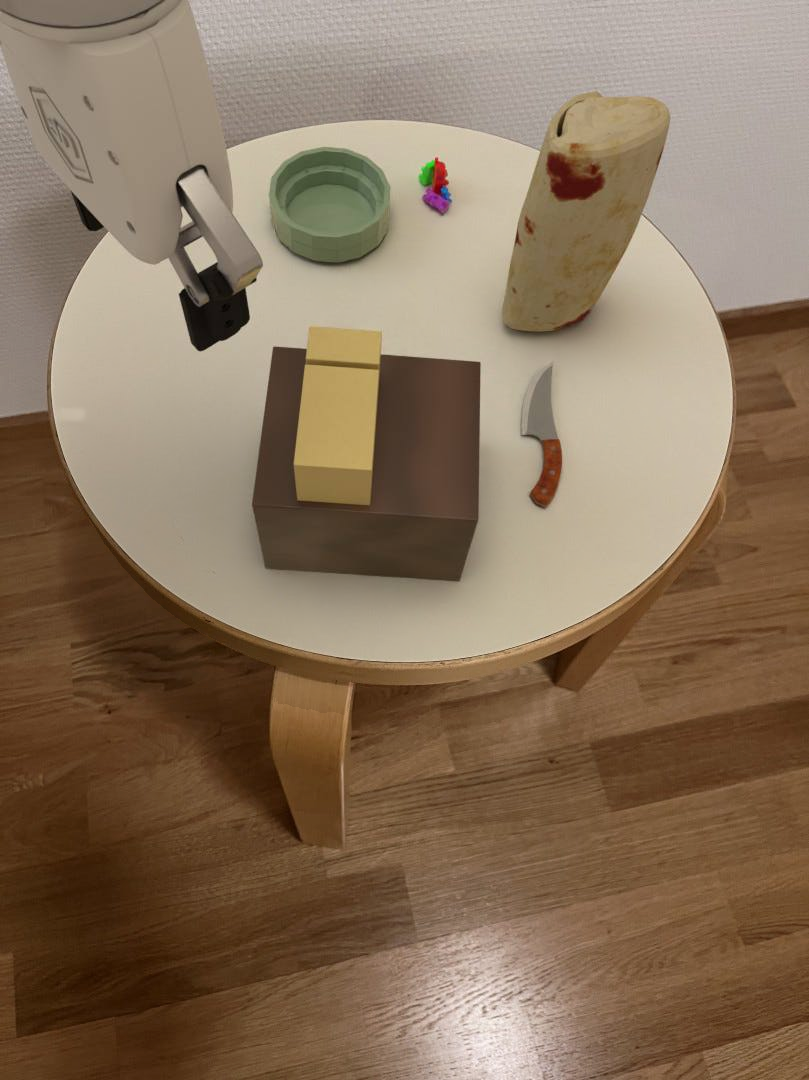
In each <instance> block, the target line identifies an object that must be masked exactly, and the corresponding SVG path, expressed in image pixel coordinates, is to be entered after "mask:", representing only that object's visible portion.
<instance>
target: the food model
mask: <svg viewBox="0 0 809 1080" xmlns="http://www.w3.org/2000/svg"><path fill="white" fill-rule="evenodd" d="M670 122H671V115H670V110H669V108H668V106H667V105H666V104H665V103H664V102H662V101H661V100H659V99H656V98H653V97H650V96H641V95H636V96H624V97H623V96H622V97H620V96H603V95H602V94H601V93H600V92H598V90H594V91H590V92H586V93H582V94H577V95H575V96H573V97H572V98H570V99H569V100H568V101H566V102H565V103H564V104H563V105H562V106H561V107H560V108H559V109H558V110H557V111H556V113H555V114H554V115H553V116H552V118H551V120H550V122H549V125H548V128H547V130H546V133H545V136H544V139H543V142H542V145H541V147H540V150H539V154H538V157H537V160H536V163H535V167H534V170H533V173H532V177H531V180H530V183H529V187H528V189H527V190H528V191H527V193H526V196H525V199H524V201H523V205H522V207H521V210H520V214H519V216H518V217H519V218H518V220H517V225H516V231H515V238H514V243H513V248H512V252H511V257H510V263H509V269H508V275H507V281H506V286H505V287H506V288H505V293H504V298H503V303H502V310H501V316H502V320H503V322H504V324H505V325H506V326H507V327H509V328H511V329H513V330H517V331H524V332H549V331H550V332H552V331H556V330H561V329H563V328H567V327H570V326H573V325H575V324H578V323H580V322H582V321H583V320H584V319H585V318H587V316H588V315H589V314H590V313H591V311H592V309H593V308H594V306H595V305H596V303H597V302H598V300H599V299H600V297H601V296H602V294H603V292H604V291H605V289H606V288H607V286H608V283H609V282H610V280H611V278H612V276H613V275H614V273H615V271H616V269H617V268H618V266H619V264H620V263H621V261H622V259H623V257H624V255H625V253H626V251H627V249H628V248H629V245H630V243H631V241H632V238H633V236H634V234H635V232H636V230H637V228H638V225H639V222H640V219H641V217H642V215H643V212H644V209H645V206H646V205H647V201H648V199H649V196H650V193H651V189H652V187H653V183H654V180H655V178H656V175H657V171H658V169H659V165H660V162H661V159H662V155H663V153H664V149H665V145H666V141H667V138H668V132H669V129H670V124H671V123H670Z"/></svg>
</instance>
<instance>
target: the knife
mask: <svg viewBox="0 0 809 1080" xmlns="http://www.w3.org/2000/svg"><path fill="white" fill-rule="evenodd" d="M553 367H554V361H553V360H552V361H550V362H548V363H547V364H545V365H544V366H543V367H542V368H541V369H540V370H538V372H536V374H535V375H534V376H533V378H532V380H531V381H530V383H529V385H528V387H527V389H526V392H525V396H524V399H523V403H522V404H523V405H522V411H521V435H522V436H533V437H536V438H538V439H539V441H540V444H541V446H542V452H543V453H542V454H543V465H542V471H541V475H540V477H539V479H538V481H537V482H536V484H535V485H534V487H533V488H532V489H531V490H530V492H529V493H530V494H529V496H530V499H531V500H532V501H533V502H534V503H535V504H537V506H539V507H542V508H547V506H549V505H550V503H551V502H552V501H553V498H554V496H555V494H556V491H557V489H558V486H559V483H560V479H561V475H562V469H563V452H562V445H561V441H560V438H559V436H558V432H557V428H556V425H555V419H554V414H553V407H552V374H553Z"/></svg>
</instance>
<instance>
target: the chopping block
mask: <svg viewBox="0 0 809 1080" xmlns="http://www.w3.org/2000/svg"><path fill="white" fill-rule="evenodd" d="M306 352H307V348H302V347H301V348H300V347H290V346H289V347H288V346H275V345H274V346H273V347H272V353H271V359H270V365H269V374H268V381H267V389H266V395H265V396H266V397H265V404H264V411H263V418H262V426H261V434H260V442H259V450H258V455H257V464H256V471H255V477H254V478H255V479H254V486H253V494H252V500H251V507H252V511H253V516H254V521H255V526H256V531H257V537H258V540H259V546H260V550H261V551H260V552H261V556H262V560H263V563H264V564H263V565H264V568H265V569H270V570H285V571H299V572H300V571H301V572H314V573H315V572H316V573H330V574H331V573H332V574H345V575H362V576H374V577H376V576H377V577H389V578H390V577H391V578H406V579H420V580H421V579H422V580H436V581H437V580H438V581H451V582H461V578H462V576H463V573H464V569H465V565H466V563H467V559H468V556H469V553H470V549H471V546H472V543H473V539H474V536H475V533H476V529H477V526H478V522H479V514H480V513H479V511H480V510H479V509H480V508H479V507H480V503H479V502H480V442H481V441H480V440H481V439H480V437H481V373H482V372H481V371H482V370H481V364H482V363H481V361H474V360H461V359H459V360H458V359H450V358H449V359H448V358H437V357H436V358H435V357H423V356H411V355H409V356H408V355H395V354H382V353H381V358H380V375H379V389H378V403H377V417H376V431H375V445H374V459H373V473H372V487H371V501H370V505H355V504H341V503H327V502H312V501H298V500H297V492H296V482H295V473H294V457H295V448H296V439H297V430H298V422H299V413H300V404H301V395H302V387H303V378H304V369H305V365H306Z"/></svg>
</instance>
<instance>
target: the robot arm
mask: <svg viewBox="0 0 809 1080" xmlns="http://www.w3.org/2000/svg"><path fill="white" fill-rule="evenodd" d="M0 51H1V53H2V56H3V60H4V62H5V65H6V69H7V72H8V74H9V78H10V81H11V84H12V87H13V90H14V93H15V96H16V98H17V102H18V104H19V108H20V111H21V114H22V116H23V120H24V122H25V125H26V128H27V130H28V134H29V136H30V138H31V141H32V143H33V144H34V146H35V148H36V150H37V152H38V153H39V154H40V156H41V158H42V159H43V161H45V162H46V164H47V165H48V167H50V169H51V170H52V171H53V172H54V173H55V175H56V176H57V177H58V178H59V179H60V180H61V181H62V182H63V183H64V185H65V186H66V187H67V188H68V189H69V190H70V193H71V196H72V199H73V202H74V204H75V207H76V209H77V210H76V211H77V212H78V216H79V218H80V221H81V223H82V225H83V226H84V227H85V228H86V229H87V230H88V231H89V232H98V231H99V230H102V229H104V228H105V229H106V231H108V233H109V234H110V235H111V236H112V237H113V238H114V240H116V241H117V242H118V243H119V245H121V246H122V247H123V248H124V250H126V251H127V253H129V254H130V255H131V256H133V257H134V258H135V259H137V260H139V261H140V262H143V263H145V264H149V265H153V266H155V265H158V264H160V263H162V262H163V261H165V260H167V259H168V260H169V262H170V264H171V266H172V268H173V270H174V272H175V273H176V276H177V277H178V278H179V281H180V282H181V284H182V285H183V288H182V290H181V291H180V292H179V293H178V297H179V302H180V305H181V309H182V313H183V317H184V321H185V324H186V327H187V328H186V329H187V332H188V337H189V340H190V344H191V345H192V346H193V348H195V350H196V351H198V352H204V351H205V350H207V349H209V348H212V346H214V345H215V344H218V343H219V342H223V341H226V340H229V339H231V337H233V336H235V335H236V334H238V333H239V332H240V331H241V329H242V328H243V327H246V325H247V324H249V321H250V320H251V315H250V314H251V313H250V309H249V308H250V307H249V301H248V296H247V295H248V294H247V288H248V287H249V286H250V285H252V284H254V283H256V282H257V280H258V279H257V277H258V275H259V274H260V272H261V270H262V268H263V267H264V263H263V259H262V256H261V254H260V253H259V251H258V250H257V248H256V246H255V245H254V243H253V242H252V240H251V239H250V238H249V236H248V234H247V233H246V232H245V230H244V228H243V227H242V225H241V224H240V223H239V221H238V219H237V218H236V216H235V215H234V213H233V211H234V194H233V184H232V174H231V169H230V161H229V157H228V151H227V146H226V140H225V136H224V131H223V126H222V121H221V117H220V112H219V108H218V103H217V99H216V94H215V90H214V87H213V82H212V79H211V73H210V70H209V66H208V62H207V58H206V56H205V52H204V48H203V45H202V41H201V38H200V34H199V31H198V27H197V23H196V21H195V17H194V14H193V10H192V7H191V4H190V1H189V0H0ZM182 208H183V209H184V210H185V212H186V213H187V216H189V219H191V221H190V222H189V223H186V224H185V225H183V226H182V224H183V223H182V222H183V217H184V215H183V212H182ZM201 238H203V239H204V241H205V242H206V243H207V244H208V245H207V246H209V247H210V249H211V250H212V253H213V254H214V256H215V258H216V261H217V262H215V263H213V264H211V265H210V266H208V267H206V268H204V269H203V270H201V271H199V272H198V271H197V269H196V267H195V265H194V263H193V262H192V260H191V258H190V256H189V254H188V252H187V250H186V247H187V246H189V245H190V244H193V243H194V242H196V241H198V240H199V239H201Z"/></svg>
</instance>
